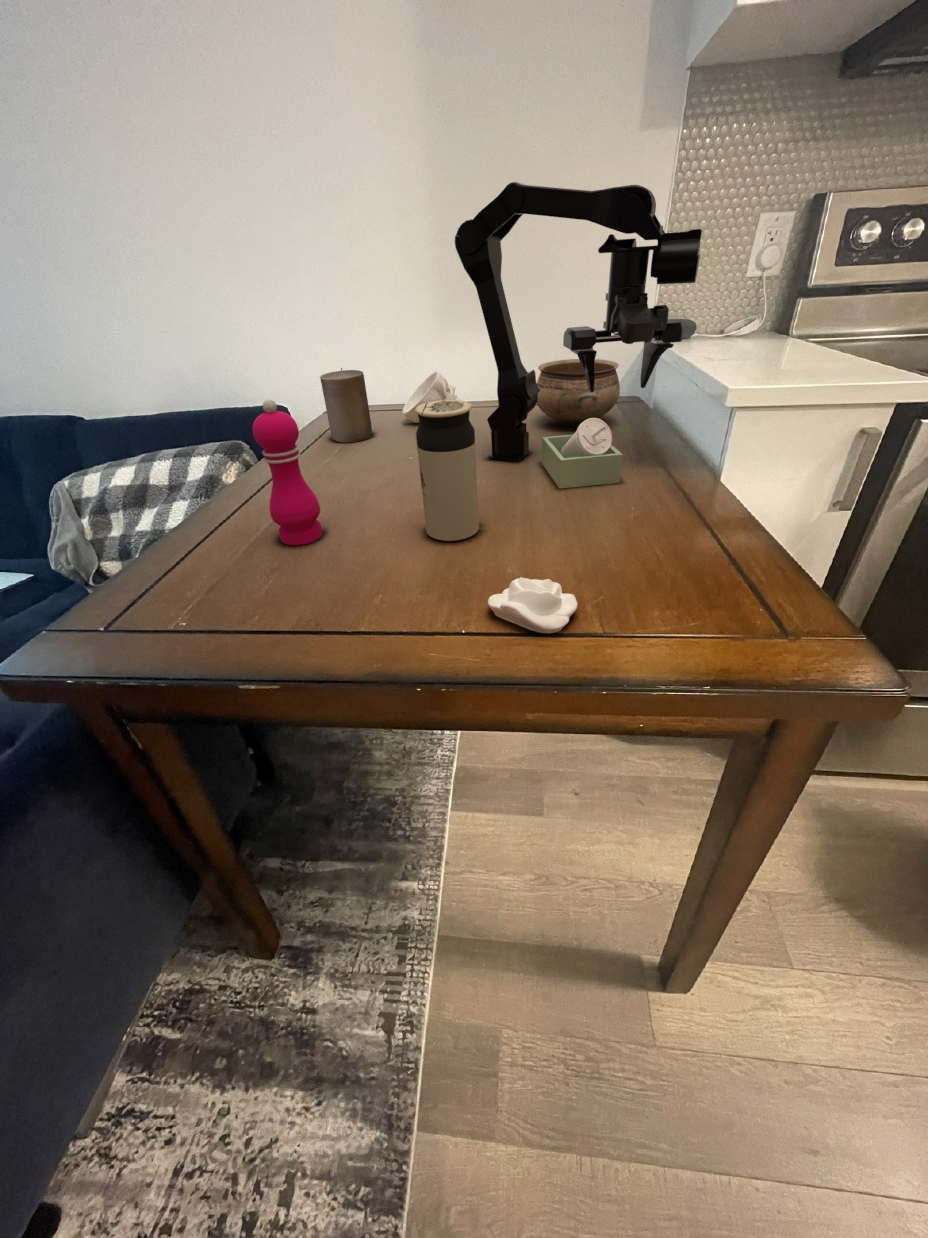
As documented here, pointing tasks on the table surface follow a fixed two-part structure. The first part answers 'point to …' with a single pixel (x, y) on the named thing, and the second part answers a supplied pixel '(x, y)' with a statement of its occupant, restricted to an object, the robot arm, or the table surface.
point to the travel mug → (448, 469)
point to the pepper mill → (287, 477)
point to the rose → (534, 605)
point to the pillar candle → (347, 405)
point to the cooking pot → (576, 390)
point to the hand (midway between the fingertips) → (617, 389)
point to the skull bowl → (429, 394)
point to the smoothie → (588, 439)
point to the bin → (579, 465)
